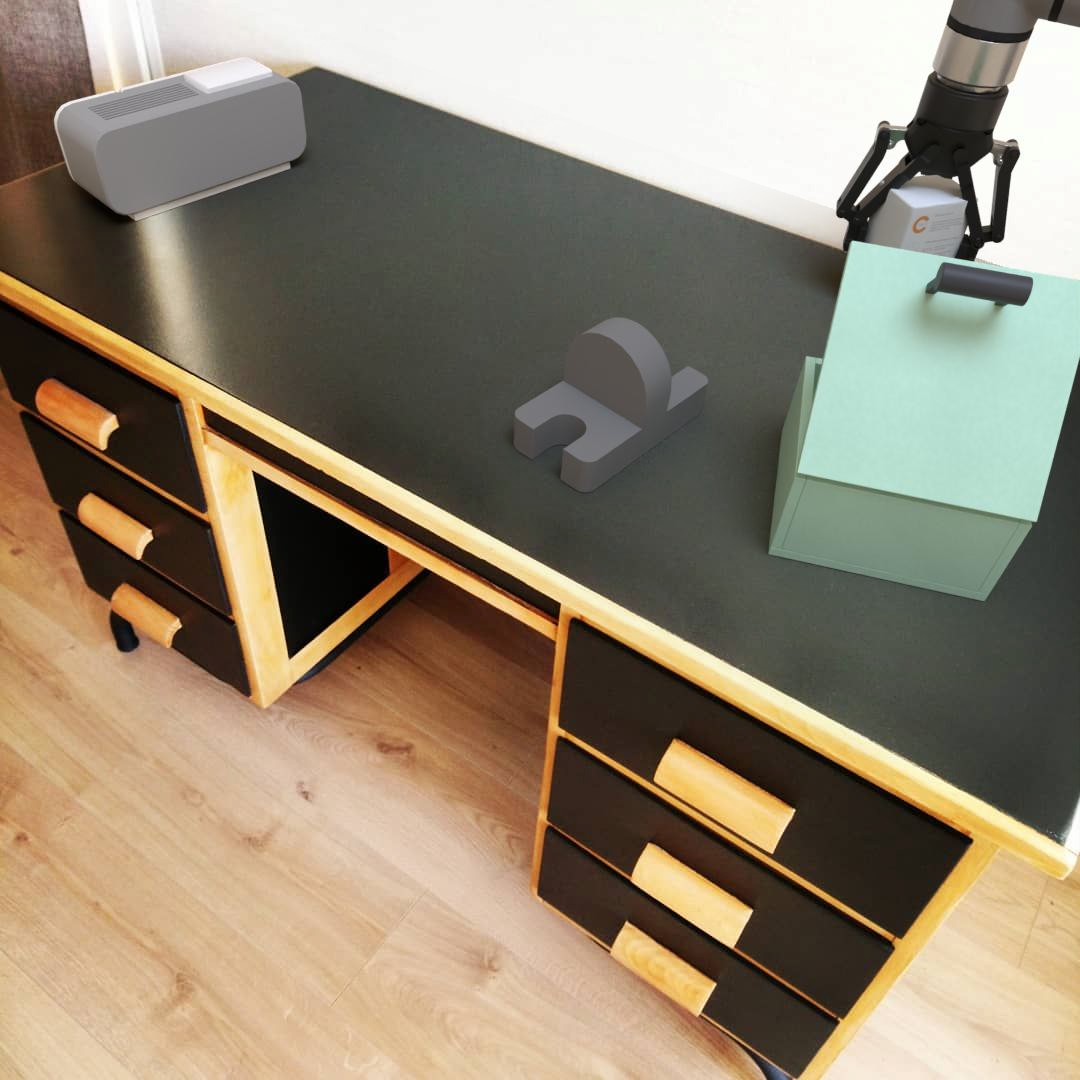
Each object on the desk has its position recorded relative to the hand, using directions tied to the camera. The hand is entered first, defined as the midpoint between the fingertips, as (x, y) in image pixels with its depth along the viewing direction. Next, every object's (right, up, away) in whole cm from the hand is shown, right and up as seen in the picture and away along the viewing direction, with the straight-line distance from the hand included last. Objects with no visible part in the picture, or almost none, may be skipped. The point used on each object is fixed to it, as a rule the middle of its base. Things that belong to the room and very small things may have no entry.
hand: (894, 285), depth 105 cm
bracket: (-33, -18, -15) cm, 41 cm away
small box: (0, -1, +1) cm, 2 cm away
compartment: (-10, -26, -21) cm, 35 cm away
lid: (-10, -17, -34) cm, 39 cm away
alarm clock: (-83, +16, +13) cm, 85 cm away
